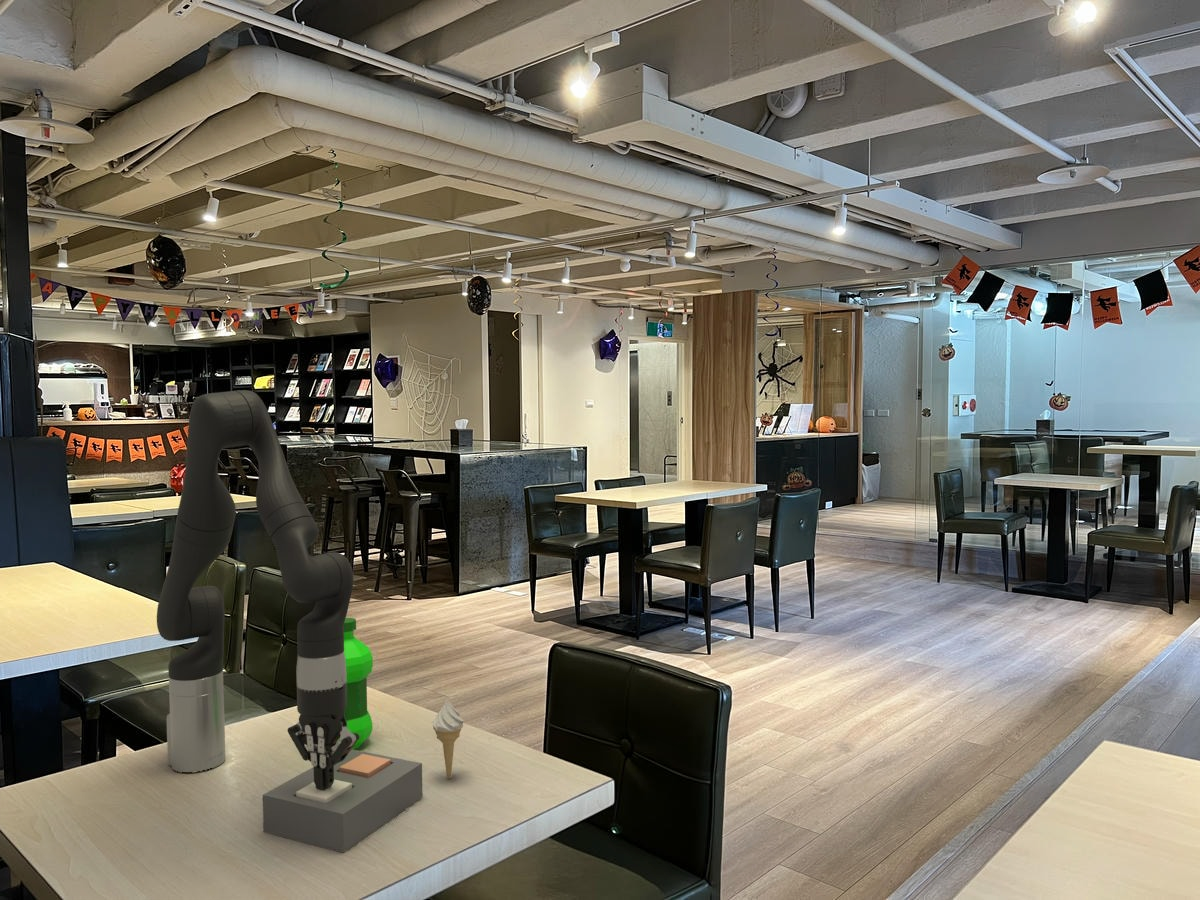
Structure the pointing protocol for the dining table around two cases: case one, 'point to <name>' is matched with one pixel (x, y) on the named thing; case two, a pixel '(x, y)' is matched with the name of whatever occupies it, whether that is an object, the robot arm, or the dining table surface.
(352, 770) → the terracotta key
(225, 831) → the dining table surface
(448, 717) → the ice cream cone
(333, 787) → the white key
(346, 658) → the plastic bottle
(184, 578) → the robot arm
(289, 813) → the block
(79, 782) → the dining table surface
